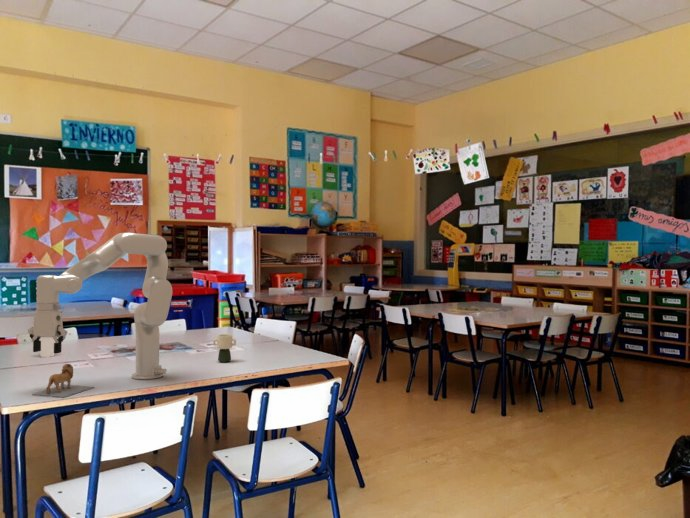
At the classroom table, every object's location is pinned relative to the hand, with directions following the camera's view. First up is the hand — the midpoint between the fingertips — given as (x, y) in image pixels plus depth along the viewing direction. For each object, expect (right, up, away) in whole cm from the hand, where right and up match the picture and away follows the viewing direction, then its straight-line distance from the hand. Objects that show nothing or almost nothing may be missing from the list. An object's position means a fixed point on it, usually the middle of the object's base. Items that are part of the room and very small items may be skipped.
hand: (47, 352), depth 215 cm
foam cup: (-37, -14, +69) cm, 80 cm away
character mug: (+56, -14, +58) cm, 81 cm away
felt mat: (+7, -15, -2) cm, 16 cm away
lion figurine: (+5, -14, -1) cm, 15 cm away
